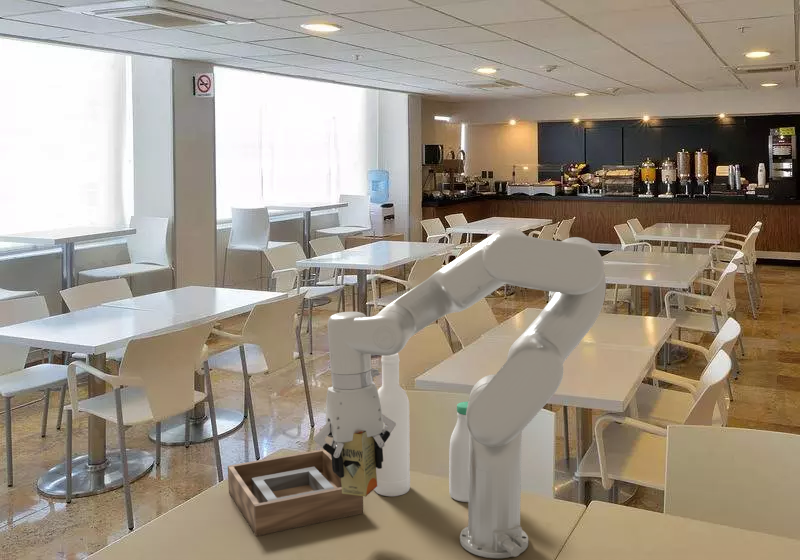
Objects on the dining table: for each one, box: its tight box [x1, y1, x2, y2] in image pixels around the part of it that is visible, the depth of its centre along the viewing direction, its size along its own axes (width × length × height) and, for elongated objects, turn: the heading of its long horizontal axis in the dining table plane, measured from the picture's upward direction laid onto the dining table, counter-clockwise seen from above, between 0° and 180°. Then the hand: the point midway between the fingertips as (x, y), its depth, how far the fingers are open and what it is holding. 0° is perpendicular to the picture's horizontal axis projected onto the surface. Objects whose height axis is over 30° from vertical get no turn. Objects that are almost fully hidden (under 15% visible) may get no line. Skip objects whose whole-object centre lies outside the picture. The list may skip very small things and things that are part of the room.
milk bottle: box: [448, 401, 469, 503], centre depth 166 cm, size 8×8×20 cm
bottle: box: [373, 353, 411, 497], centre depth 168 cm, size 8×8×30 cm
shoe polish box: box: [340, 431, 377, 497], centre depth 149 cm, size 5×5×12 cm
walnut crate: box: [227, 448, 364, 537], centre depth 164 cm, size 22×22×6 cm
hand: (358, 470), depth 149 cm, fingers closed on shoe polish box, 7 cm apart
